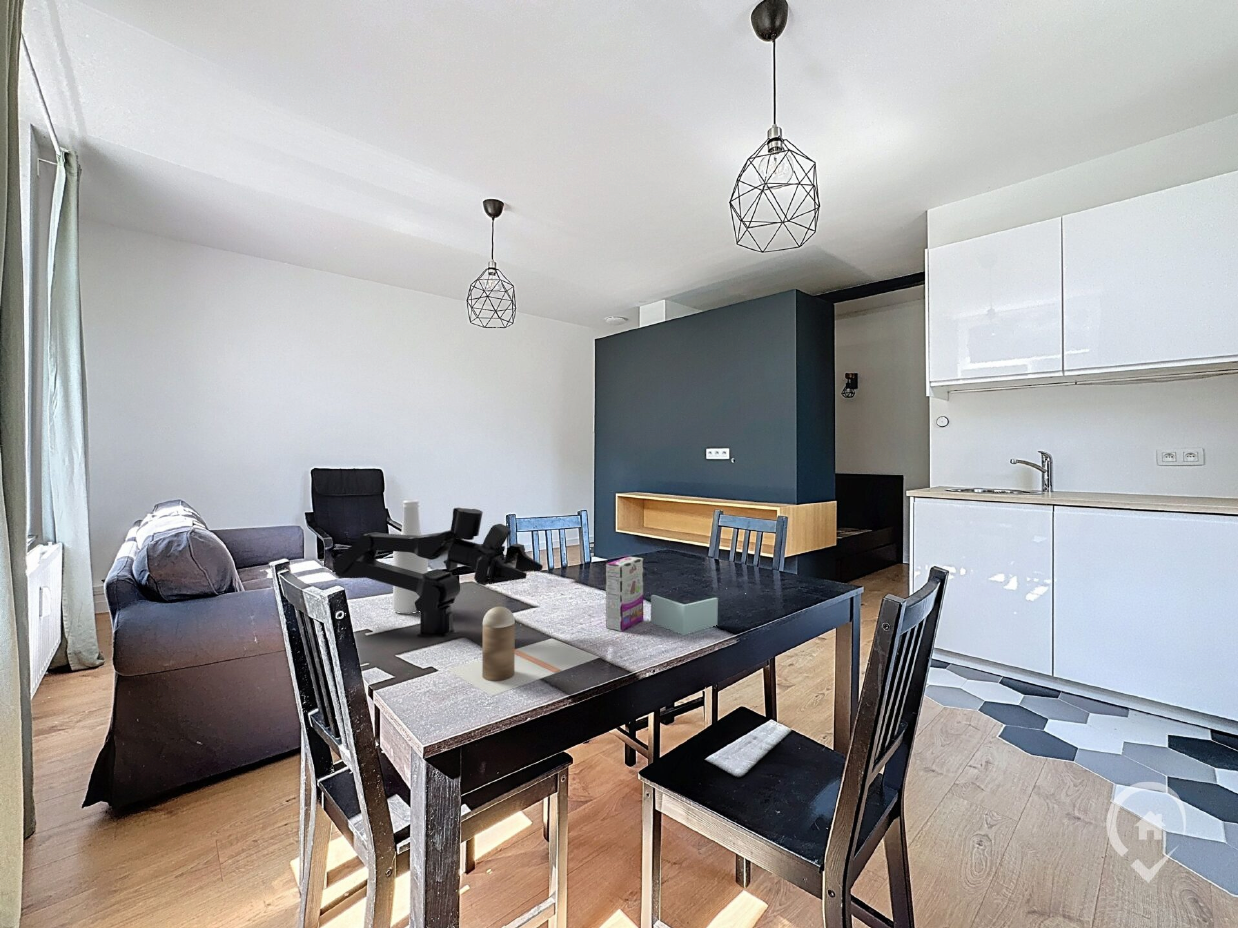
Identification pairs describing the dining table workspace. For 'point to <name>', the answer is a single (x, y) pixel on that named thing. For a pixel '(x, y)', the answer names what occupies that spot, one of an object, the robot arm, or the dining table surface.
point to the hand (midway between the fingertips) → (534, 571)
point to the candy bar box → (624, 593)
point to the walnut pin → (498, 644)
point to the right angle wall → (684, 614)
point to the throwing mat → (527, 665)
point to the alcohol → (408, 559)
